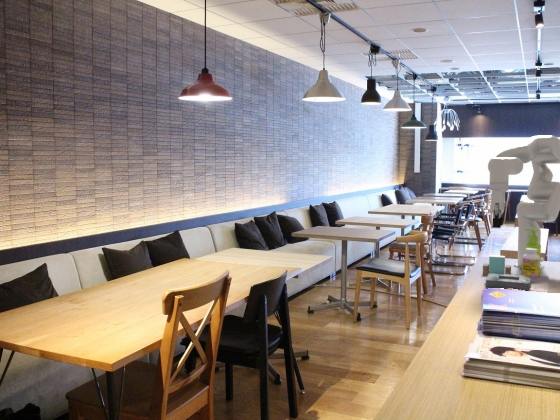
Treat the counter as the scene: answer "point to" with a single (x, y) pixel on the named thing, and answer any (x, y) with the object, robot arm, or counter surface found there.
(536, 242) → the soap dispenser
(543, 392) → the counter surface
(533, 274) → the supplement bottle
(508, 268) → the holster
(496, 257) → the plug
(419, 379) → the counter surface
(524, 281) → the port
